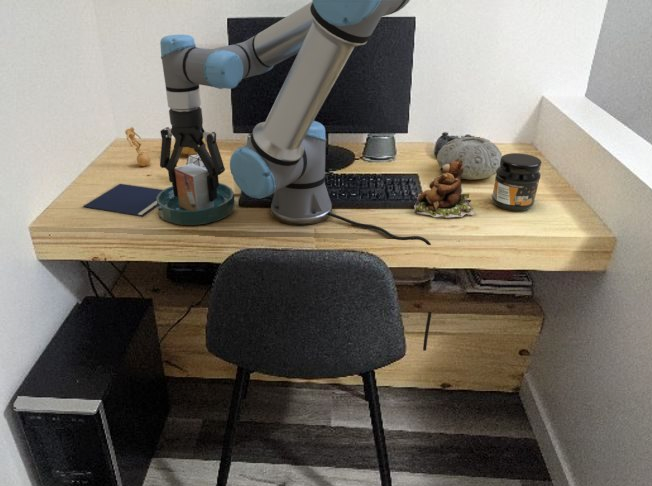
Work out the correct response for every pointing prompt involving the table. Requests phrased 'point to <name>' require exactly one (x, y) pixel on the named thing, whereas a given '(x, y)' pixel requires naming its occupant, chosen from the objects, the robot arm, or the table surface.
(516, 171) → the supplement container
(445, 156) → the decorative shell
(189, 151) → the stress ball
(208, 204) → the small box
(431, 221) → the table surface
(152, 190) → the book
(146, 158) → the figurine
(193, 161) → the game die
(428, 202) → the bear figurine
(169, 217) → the bowl
